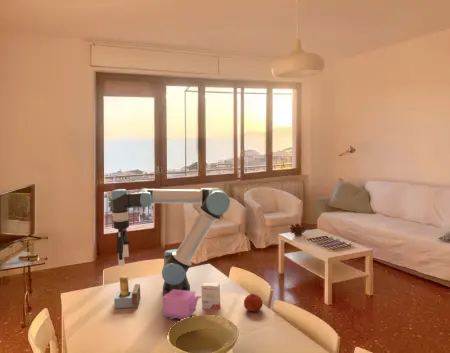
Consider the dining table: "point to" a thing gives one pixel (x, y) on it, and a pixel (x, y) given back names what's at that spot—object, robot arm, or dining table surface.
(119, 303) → the block
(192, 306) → the teapot
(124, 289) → the golden brown tall cylinder
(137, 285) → the board
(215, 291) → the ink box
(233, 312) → the dining table surface
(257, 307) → the fruit
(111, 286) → the dining table surface
